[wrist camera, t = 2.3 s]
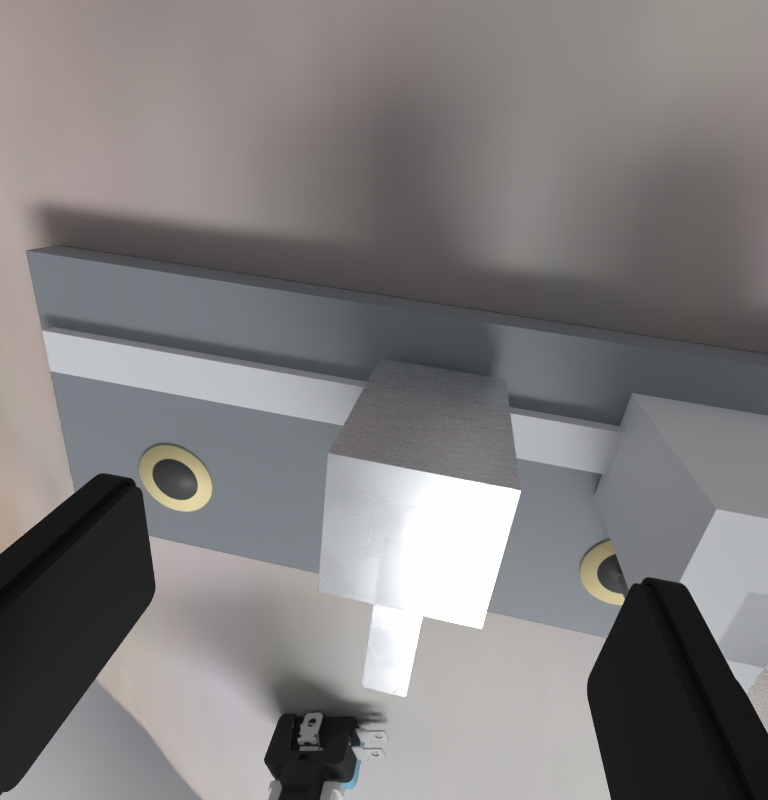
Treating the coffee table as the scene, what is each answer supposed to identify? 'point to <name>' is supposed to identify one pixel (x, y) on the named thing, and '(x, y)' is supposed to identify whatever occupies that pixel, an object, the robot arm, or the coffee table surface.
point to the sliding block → (418, 506)
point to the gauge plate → (434, 347)
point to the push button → (318, 756)
